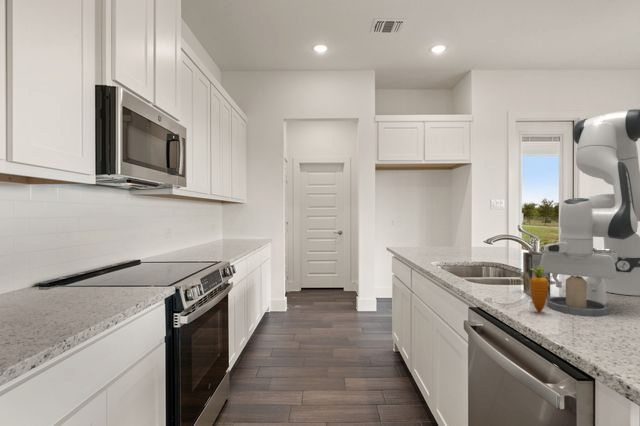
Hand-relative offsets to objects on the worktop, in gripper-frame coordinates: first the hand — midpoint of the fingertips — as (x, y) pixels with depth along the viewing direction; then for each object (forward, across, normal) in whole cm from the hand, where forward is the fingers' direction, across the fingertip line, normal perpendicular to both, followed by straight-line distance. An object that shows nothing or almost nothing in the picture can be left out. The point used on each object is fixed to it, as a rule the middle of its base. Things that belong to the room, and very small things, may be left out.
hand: (576, 289), depth 114 cm
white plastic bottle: (+7, -5, -14) cm, 16 cm away
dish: (+7, 0, 0) cm, 7 cm away
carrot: (+7, +9, +12) cm, 16 cm away
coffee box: (+7, +13, -14) cm, 20 cm away
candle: (+6, 0, 0) cm, 6 cm away
